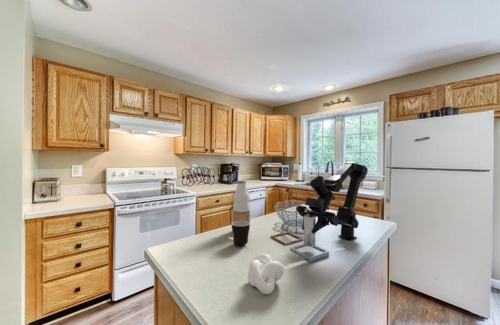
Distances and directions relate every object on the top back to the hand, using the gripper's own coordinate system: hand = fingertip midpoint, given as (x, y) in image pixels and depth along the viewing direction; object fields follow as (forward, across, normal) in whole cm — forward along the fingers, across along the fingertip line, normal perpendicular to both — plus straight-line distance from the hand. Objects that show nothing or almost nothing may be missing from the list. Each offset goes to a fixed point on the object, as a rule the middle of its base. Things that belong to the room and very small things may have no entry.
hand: (307, 231), depth 91 cm
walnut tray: (+4, -15, +10) cm, 19 cm away
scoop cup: (+3, 0, +5) cm, 6 cm away
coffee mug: (+18, -27, -4) cm, 32 cm away
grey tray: (+6, 0, +8) cm, 10 cm away
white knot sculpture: (+27, +6, -13) cm, 31 cm away
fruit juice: (+11, -40, +3) cm, 42 cm away
